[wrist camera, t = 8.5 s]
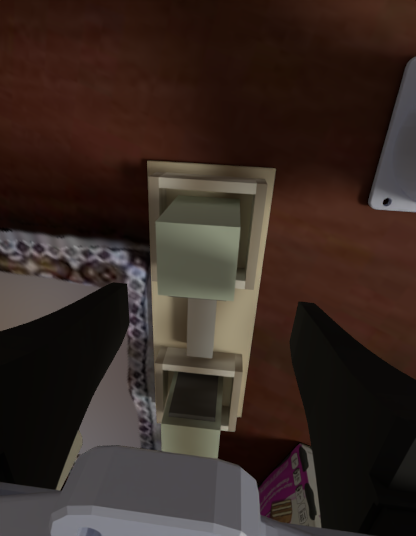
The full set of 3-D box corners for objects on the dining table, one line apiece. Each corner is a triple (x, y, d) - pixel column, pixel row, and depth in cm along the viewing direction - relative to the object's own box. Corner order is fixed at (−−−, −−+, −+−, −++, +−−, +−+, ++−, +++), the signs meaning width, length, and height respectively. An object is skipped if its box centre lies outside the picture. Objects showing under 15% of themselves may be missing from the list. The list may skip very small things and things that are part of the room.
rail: (275, 168, 19) (292, 187, 13) (240, 412, 28) (241, 487, 22) (149, 160, 19) (110, 175, 13) (157, 403, 29) (136, 474, 23)
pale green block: (239, 199, 19) (240, 227, 14) (234, 261, 21) (232, 307, 16) (178, 195, 20) (155, 221, 14) (178, 257, 21) (158, 301, 16)
